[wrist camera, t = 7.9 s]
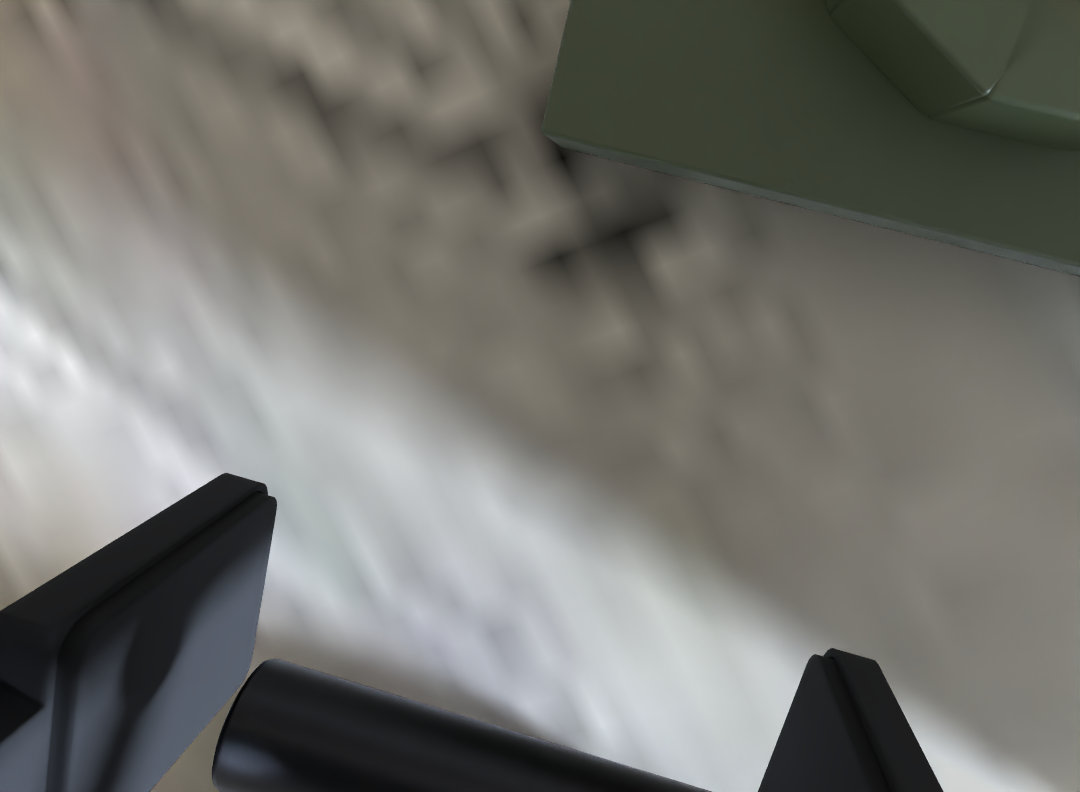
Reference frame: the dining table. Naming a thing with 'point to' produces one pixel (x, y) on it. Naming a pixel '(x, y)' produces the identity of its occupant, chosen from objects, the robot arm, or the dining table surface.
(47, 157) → the dining table surface
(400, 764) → the switch lever
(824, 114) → the button housing
